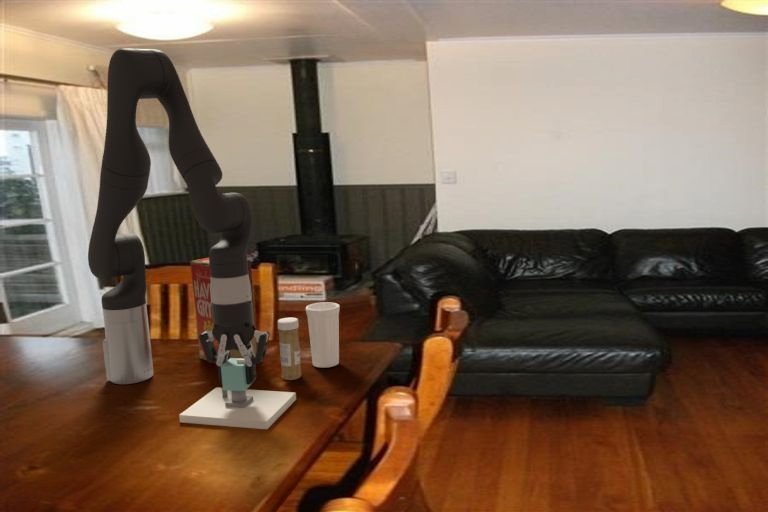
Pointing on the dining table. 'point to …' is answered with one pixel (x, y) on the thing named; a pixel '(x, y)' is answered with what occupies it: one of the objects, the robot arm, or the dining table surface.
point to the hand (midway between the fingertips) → (238, 382)
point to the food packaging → (204, 306)
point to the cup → (324, 333)
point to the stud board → (239, 408)
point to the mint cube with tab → (234, 375)
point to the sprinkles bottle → (289, 348)
